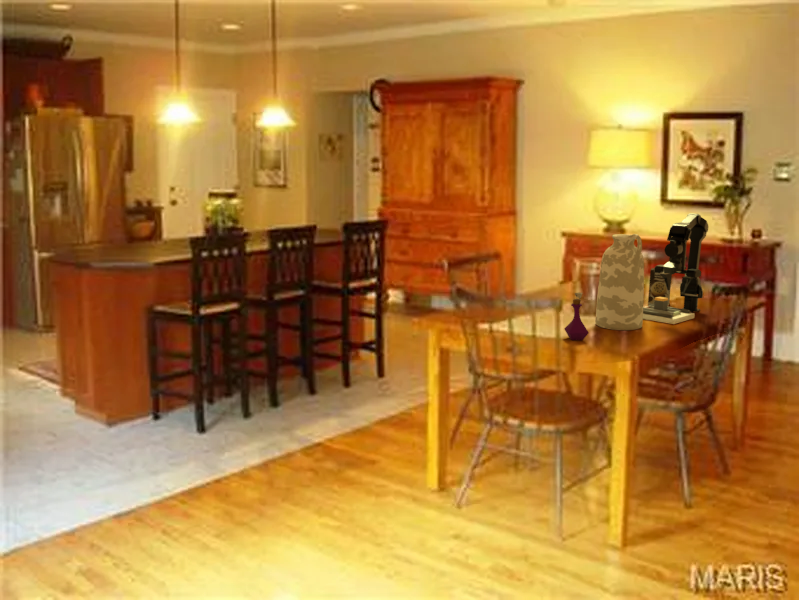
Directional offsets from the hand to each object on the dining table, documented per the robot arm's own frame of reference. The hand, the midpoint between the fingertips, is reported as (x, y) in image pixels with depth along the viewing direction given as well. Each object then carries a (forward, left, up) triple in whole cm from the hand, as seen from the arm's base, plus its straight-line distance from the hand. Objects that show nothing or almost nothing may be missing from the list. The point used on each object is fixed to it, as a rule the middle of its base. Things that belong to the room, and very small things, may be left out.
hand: (675, 291), depth 383 cm
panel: (0, -6, -12) cm, 14 cm away
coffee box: (-26, -21, -12) cm, 36 cm away
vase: (+29, -8, -12) cm, 33 cm away
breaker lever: (0, -6, -10) cm, 12 cm away
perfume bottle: (+62, -7, -12) cm, 64 cm away
